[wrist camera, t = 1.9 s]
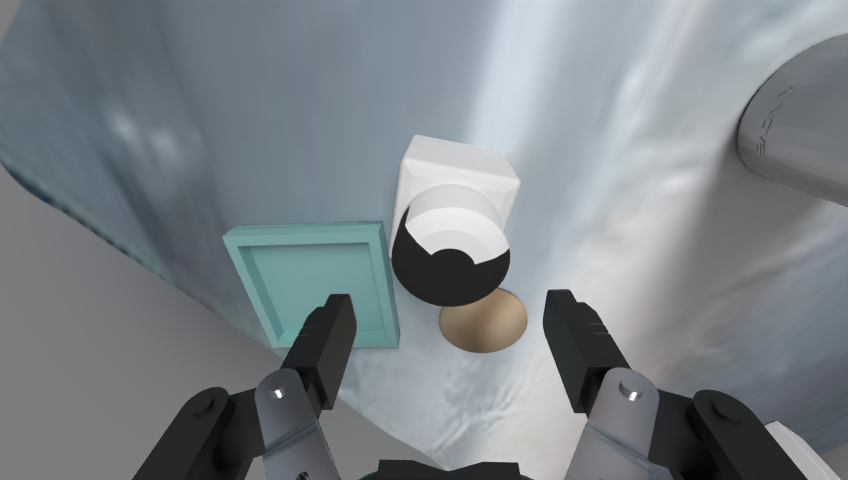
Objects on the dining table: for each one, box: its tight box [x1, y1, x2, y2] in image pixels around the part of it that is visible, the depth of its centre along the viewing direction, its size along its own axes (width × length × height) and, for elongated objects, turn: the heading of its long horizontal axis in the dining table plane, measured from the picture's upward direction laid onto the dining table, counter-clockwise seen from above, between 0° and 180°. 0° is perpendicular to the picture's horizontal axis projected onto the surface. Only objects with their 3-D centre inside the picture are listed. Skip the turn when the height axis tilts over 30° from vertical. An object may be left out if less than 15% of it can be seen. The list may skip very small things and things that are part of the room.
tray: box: [222, 221, 400, 348], centre depth 31 cm, size 14×14×2 cm
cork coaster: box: [440, 287, 527, 353], centre depth 32 cm, size 9×9×1 cm
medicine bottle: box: [389, 135, 521, 307], centre depth 20 cm, size 7×7×12 cm
